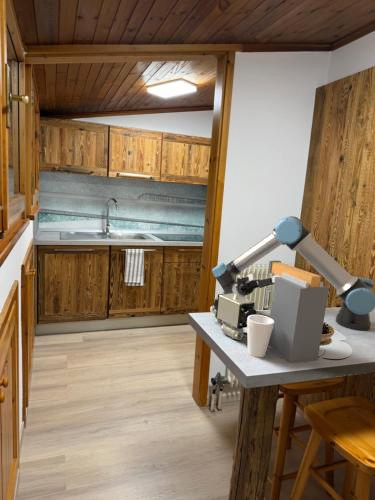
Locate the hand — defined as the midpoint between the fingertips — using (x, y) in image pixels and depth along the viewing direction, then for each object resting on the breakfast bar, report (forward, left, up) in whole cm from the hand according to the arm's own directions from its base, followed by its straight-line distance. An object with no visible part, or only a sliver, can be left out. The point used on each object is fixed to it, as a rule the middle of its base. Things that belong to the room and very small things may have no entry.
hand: (267, 276), depth 146 cm
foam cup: (+14, +20, -24) cm, 34 cm away
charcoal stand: (0, +21, -24) cm, 32 cm away
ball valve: (+16, +4, -24) cm, 29 cm away
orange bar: (0, +16, +3) cm, 17 cm away
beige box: (+15, -11, -24) cm, 30 cm away
